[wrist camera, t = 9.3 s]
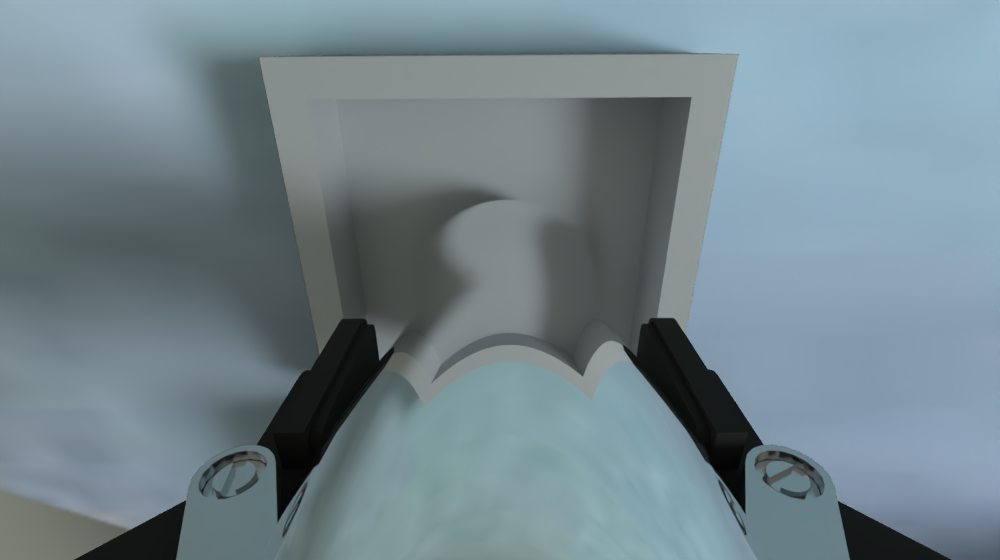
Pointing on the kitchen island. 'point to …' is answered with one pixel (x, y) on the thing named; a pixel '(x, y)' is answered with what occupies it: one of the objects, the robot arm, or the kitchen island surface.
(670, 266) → the push button box
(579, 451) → the beer glass
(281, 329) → the kitchen island surface
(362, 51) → the kitchen island surface
